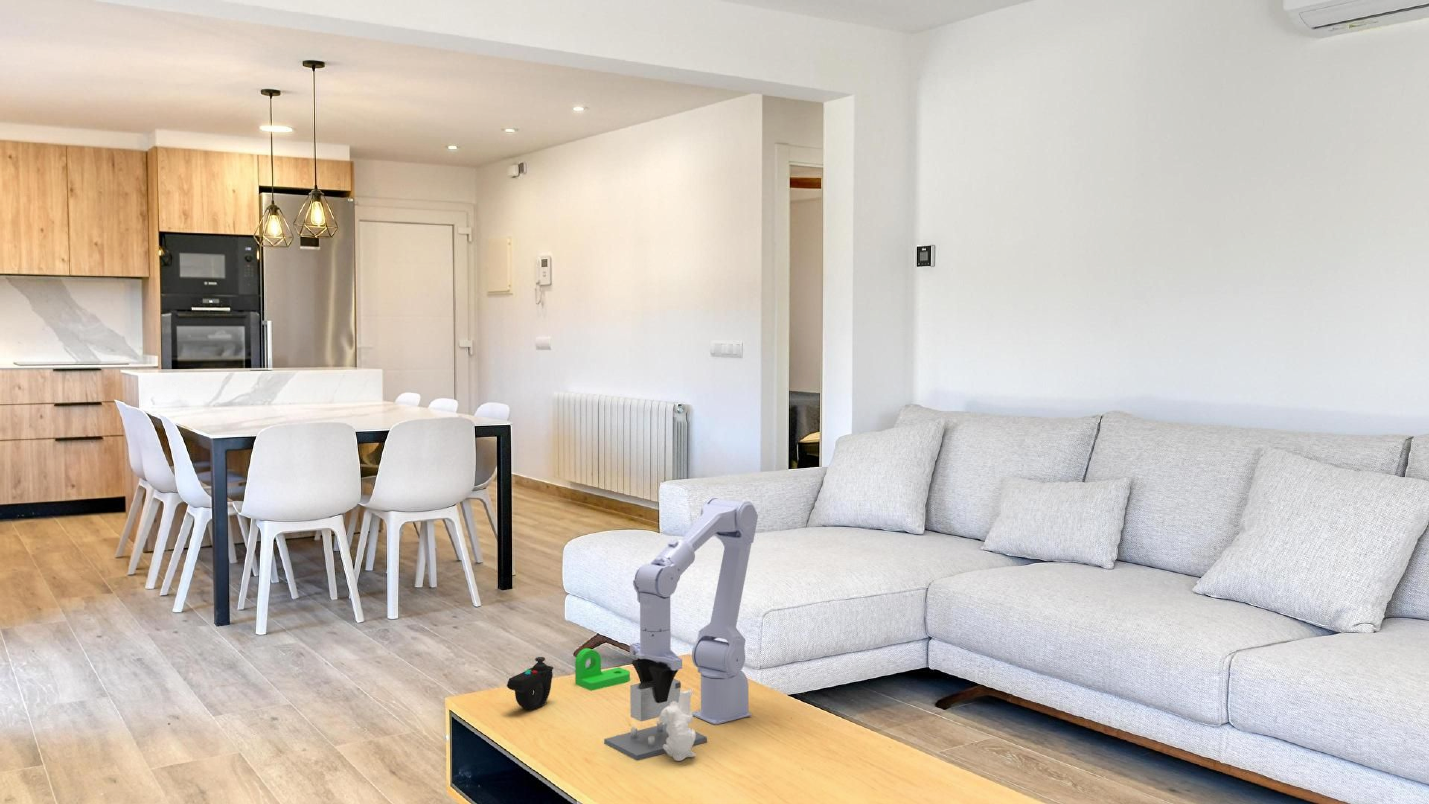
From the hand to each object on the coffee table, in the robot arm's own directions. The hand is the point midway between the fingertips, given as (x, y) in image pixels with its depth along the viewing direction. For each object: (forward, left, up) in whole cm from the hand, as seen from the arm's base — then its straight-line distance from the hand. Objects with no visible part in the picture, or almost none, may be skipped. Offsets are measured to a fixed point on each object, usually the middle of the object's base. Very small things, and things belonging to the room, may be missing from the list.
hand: (655, 699), depth 220 cm
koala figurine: (+1, +9, -9) cm, 12 cm away
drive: (0, 0, -3) cm, 3 cm away
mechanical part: (-13, -38, -9) cm, 42 cm away
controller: (+9, -32, -9) cm, 34 cm away
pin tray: (0, 0, -8) cm, 8 cm away
